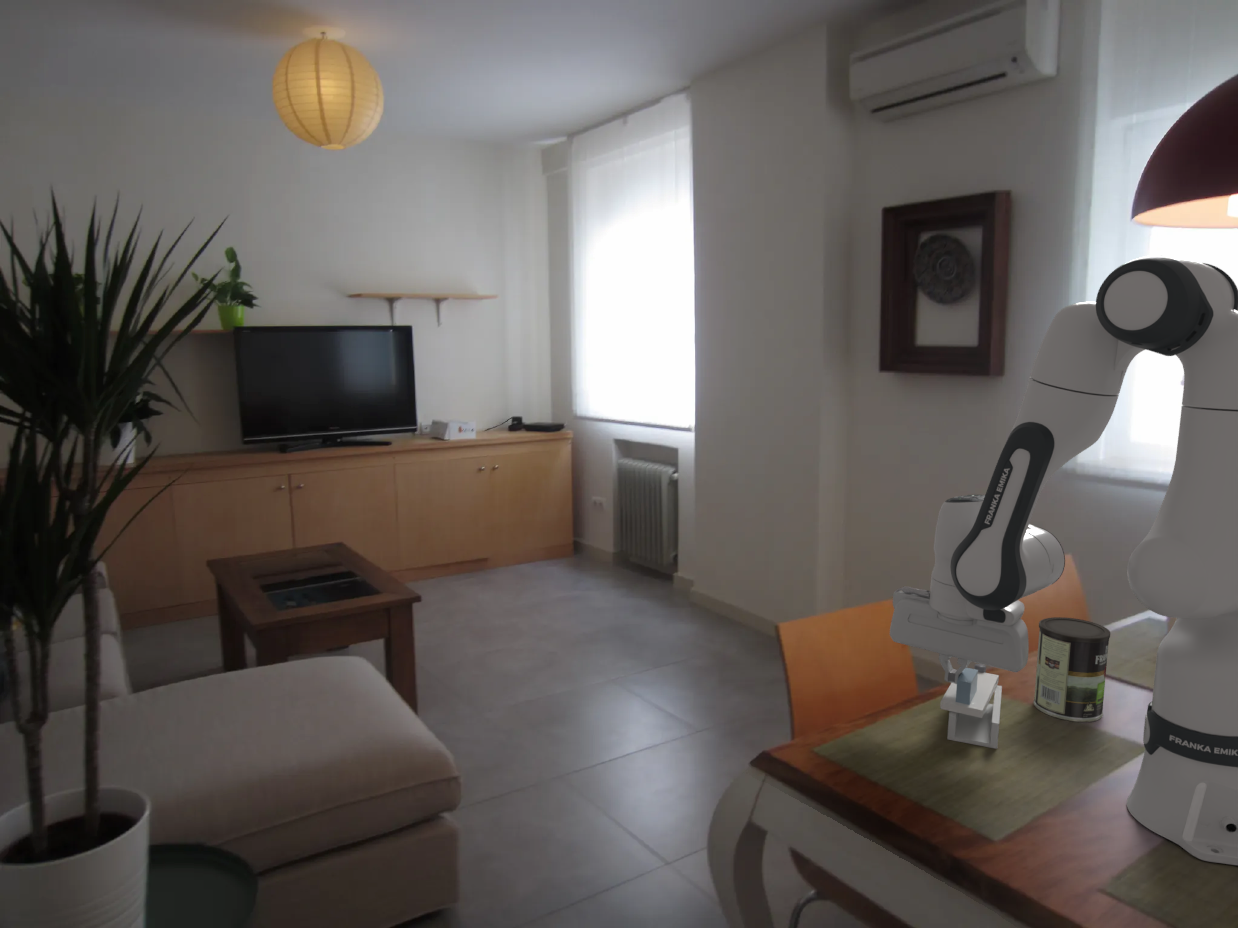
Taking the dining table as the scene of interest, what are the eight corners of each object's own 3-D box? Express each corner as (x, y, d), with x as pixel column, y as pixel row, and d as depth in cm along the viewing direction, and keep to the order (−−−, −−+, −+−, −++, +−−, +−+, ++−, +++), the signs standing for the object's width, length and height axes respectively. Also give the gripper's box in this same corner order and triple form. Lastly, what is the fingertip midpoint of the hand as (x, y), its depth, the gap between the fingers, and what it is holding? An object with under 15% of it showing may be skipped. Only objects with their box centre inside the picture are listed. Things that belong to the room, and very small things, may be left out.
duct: (1000, 708, 141) (1001, 685, 140) (997, 748, 127) (999, 723, 127) (954, 700, 144) (956, 678, 143) (947, 739, 130) (948, 714, 130)
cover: (998, 701, 142) (1001, 652, 141) (980, 742, 128) (984, 688, 127) (960, 693, 146) (963, 645, 144) (938, 732, 132) (942, 679, 130)
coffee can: (1107, 705, 142) (1114, 624, 140) (1097, 728, 134) (1105, 643, 131) (1039, 690, 148) (1046, 612, 146) (1026, 711, 140) (1032, 629, 138)
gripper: (886, 588, 135) (880, 670, 137) (1025, 617, 122) (1016, 707, 125) (901, 579, 140) (895, 658, 142) (1035, 606, 127) (1026, 693, 130)
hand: (952, 681), depth 133 cm, fingers closed
